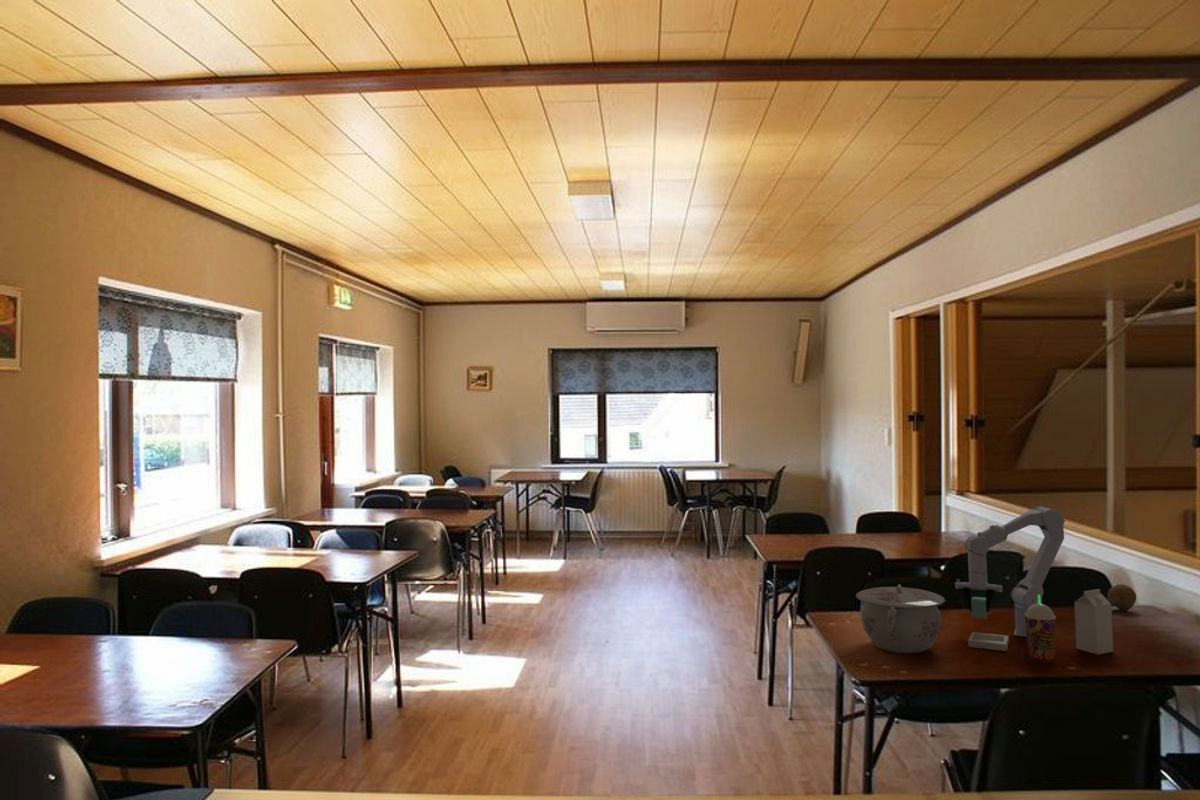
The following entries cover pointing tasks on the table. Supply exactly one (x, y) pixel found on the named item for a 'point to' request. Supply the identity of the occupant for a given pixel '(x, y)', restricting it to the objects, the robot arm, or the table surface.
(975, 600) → the block
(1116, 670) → the table surface
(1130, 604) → the brown coconut
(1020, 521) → the robot arm
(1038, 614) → the smoothie
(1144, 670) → the table surface
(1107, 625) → the milk carton
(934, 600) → the chamber pot
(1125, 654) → the table surface
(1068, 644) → the table surface
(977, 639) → the tray
